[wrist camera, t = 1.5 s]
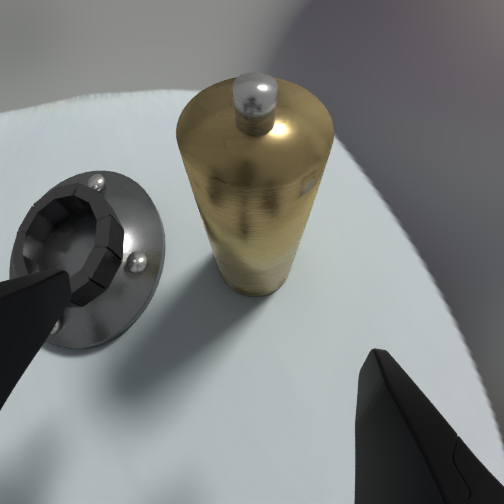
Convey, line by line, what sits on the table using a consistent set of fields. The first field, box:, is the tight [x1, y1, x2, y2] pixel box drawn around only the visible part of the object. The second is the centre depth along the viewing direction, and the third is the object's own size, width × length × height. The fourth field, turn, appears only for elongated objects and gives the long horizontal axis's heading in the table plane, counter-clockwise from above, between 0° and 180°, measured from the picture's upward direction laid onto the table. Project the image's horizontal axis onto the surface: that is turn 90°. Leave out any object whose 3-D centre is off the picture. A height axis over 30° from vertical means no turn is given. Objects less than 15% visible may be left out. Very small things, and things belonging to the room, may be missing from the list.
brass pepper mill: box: [176, 73, 334, 297], centre depth 14 cm, size 5×5×14 cm
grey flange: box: [10, 171, 165, 349], centre depth 20 cm, size 14×14×4 cm
